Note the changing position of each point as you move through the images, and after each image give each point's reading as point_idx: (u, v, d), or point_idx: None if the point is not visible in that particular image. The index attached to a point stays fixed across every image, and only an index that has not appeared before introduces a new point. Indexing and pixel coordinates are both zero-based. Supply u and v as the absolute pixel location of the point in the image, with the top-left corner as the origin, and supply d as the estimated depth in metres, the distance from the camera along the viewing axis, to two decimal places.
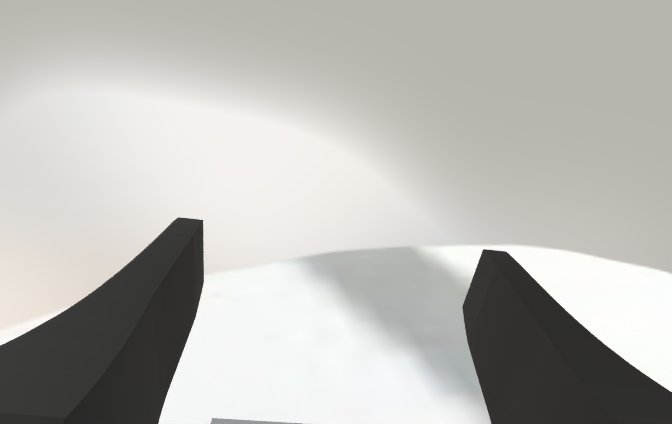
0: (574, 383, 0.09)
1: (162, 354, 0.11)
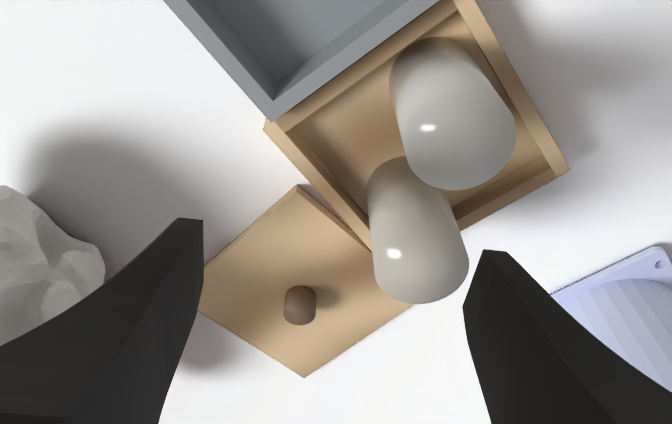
0: (574, 383, 0.09)
1: (162, 354, 0.11)
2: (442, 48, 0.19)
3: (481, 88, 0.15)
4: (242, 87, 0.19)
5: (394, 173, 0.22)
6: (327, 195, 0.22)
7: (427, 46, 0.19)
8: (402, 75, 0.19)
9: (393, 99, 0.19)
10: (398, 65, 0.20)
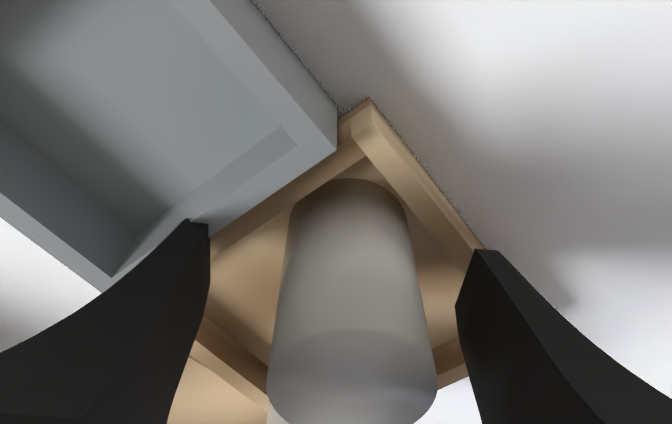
0: (561, 382, 0.09)
1: (171, 355, 0.11)
2: (347, 207, 0.13)
3: (376, 319, 0.10)
4: (64, 262, 0.13)
5: None
6: (217, 369, 0.17)
7: (328, 200, 0.13)
8: (290, 247, 0.13)
9: None
10: (293, 220, 0.14)
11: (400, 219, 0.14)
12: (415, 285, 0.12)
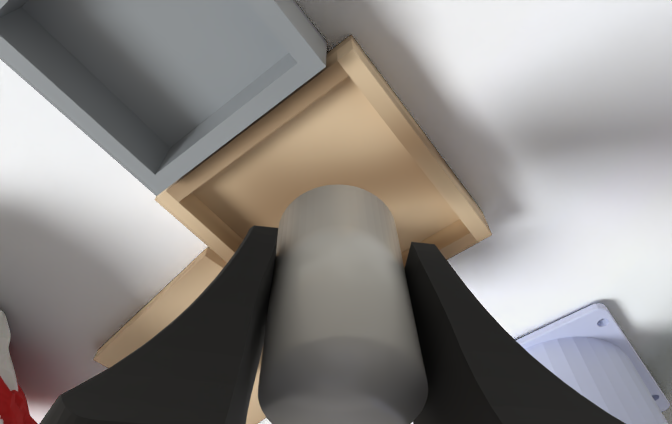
0: (468, 374, 0.09)
1: (251, 362, 0.11)
2: (338, 214, 0.13)
3: (369, 326, 0.10)
4: (119, 161, 0.17)
5: None
6: None
7: (319, 206, 0.13)
8: (281, 253, 0.13)
9: None
10: (283, 226, 0.14)
11: (390, 226, 0.14)
12: (405, 292, 0.12)
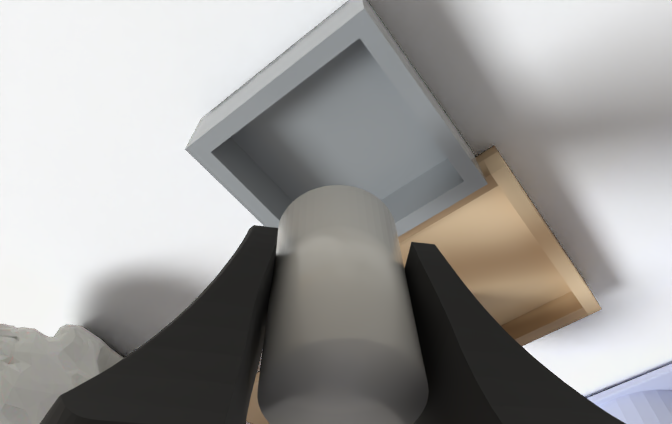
0: (468, 374, 0.09)
1: (251, 362, 0.11)
2: (338, 215, 0.13)
3: (369, 328, 0.10)
4: None
5: None
6: None
7: (319, 207, 0.13)
8: (280, 254, 0.13)
9: None
10: (283, 227, 0.14)
11: (390, 227, 0.14)
12: (406, 293, 0.12)
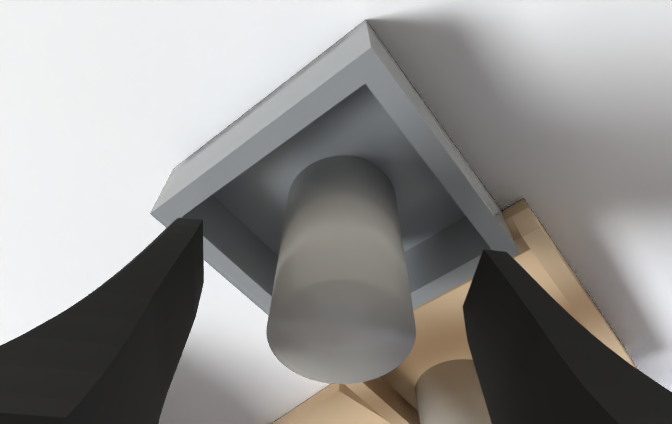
0: (574, 383, 0.09)
1: (162, 355, 0.11)
2: (342, 181, 0.14)
3: (364, 273, 0.11)
4: None
5: (450, 388, 0.20)
6: (375, 405, 0.20)
7: (325, 174, 0.15)
8: (289, 215, 0.14)
9: None
10: (293, 192, 0.15)
11: (389, 194, 0.15)
12: (400, 250, 0.13)
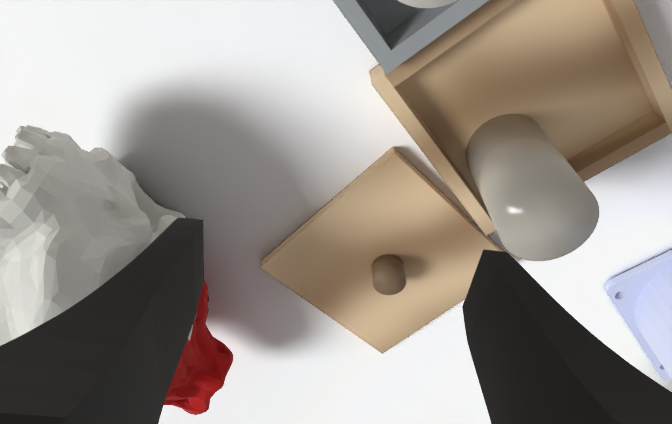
0: (574, 383, 0.09)
1: (162, 355, 0.11)
2: None
3: None
4: (361, 35, 0.18)
5: (504, 129, 0.21)
6: (431, 155, 0.22)
7: None
8: None
9: None
10: None
11: None
12: None
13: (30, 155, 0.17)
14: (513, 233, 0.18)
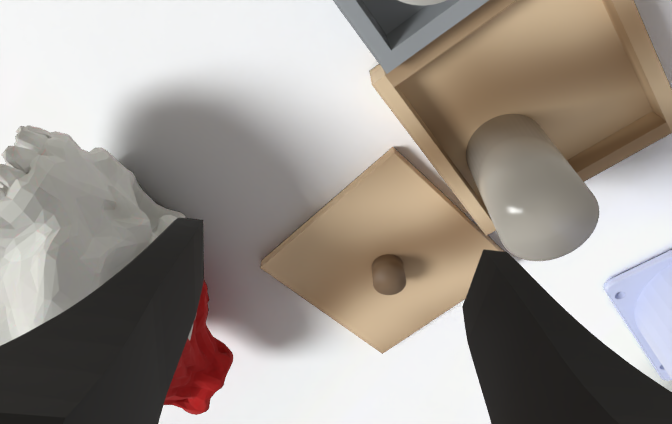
0: (574, 383, 0.09)
1: (162, 355, 0.11)
2: None
3: None
4: (361, 35, 0.18)
5: (504, 129, 0.21)
6: (431, 155, 0.22)
7: None
8: None
9: None
10: None
11: None
12: None
13: (30, 155, 0.17)
14: (513, 233, 0.18)
